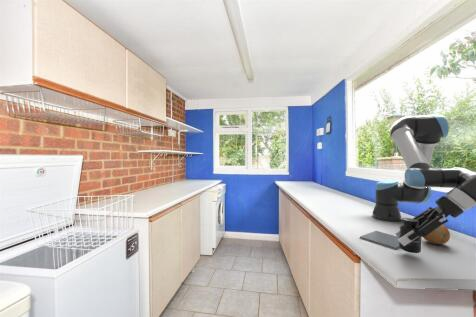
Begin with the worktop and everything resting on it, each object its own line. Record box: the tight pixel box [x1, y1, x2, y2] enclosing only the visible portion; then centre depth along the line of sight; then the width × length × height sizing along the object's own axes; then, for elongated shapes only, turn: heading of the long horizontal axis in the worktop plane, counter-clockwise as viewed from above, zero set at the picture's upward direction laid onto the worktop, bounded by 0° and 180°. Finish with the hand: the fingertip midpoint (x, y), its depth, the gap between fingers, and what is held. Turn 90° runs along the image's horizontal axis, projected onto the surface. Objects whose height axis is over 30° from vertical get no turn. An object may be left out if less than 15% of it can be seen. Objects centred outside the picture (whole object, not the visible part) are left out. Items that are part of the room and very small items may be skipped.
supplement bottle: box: [399, 217, 423, 254], centre depth 86 cm, size 7×7×12 cm
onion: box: [422, 224, 451, 245], centre depth 97 cm, size 10×10×10 cm
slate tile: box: [359, 230, 401, 250], centre depth 102 cm, size 15×15×1 cm
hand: (399, 239), depth 88 cm, fingers closed on supplement bottle, 7 cm apart
